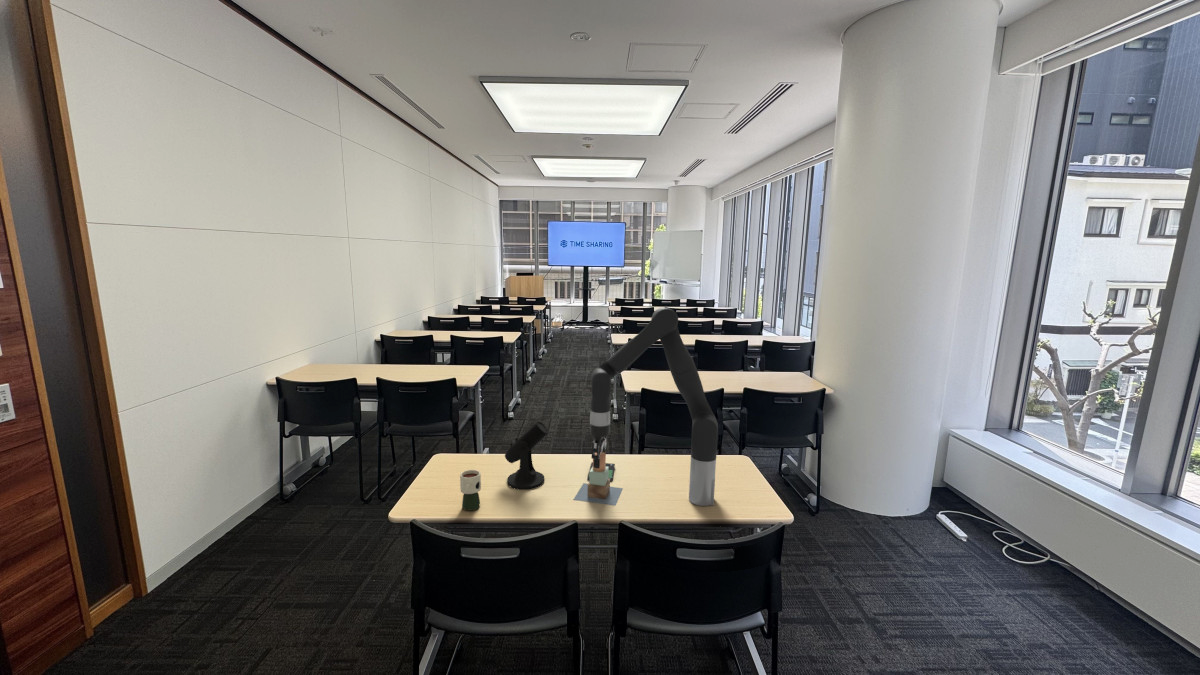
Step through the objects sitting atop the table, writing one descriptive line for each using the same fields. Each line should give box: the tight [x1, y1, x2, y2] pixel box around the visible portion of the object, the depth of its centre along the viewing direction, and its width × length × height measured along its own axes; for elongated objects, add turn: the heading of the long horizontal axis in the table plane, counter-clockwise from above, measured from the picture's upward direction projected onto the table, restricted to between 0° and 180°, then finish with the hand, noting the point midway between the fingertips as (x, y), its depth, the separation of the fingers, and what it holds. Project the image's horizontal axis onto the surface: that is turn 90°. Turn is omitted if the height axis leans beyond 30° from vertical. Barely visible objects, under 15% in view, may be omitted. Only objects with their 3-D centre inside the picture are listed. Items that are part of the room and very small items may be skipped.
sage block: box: [588, 466, 609, 486], centre depth 183 cm, size 6×6×5 cm
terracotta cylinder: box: [592, 452, 607, 472], centre depth 183 cm, size 5×5×6 cm
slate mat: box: [573, 482, 624, 507], centre depth 185 cm, size 16×14×1 cm
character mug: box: [459, 469, 482, 511], centre depth 173 cm, size 11×7×13 cm, turn 4°
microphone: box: [504, 421, 549, 491], centre depth 194 cm, size 15×17×25 cm
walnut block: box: [587, 478, 611, 499], centre depth 184 cm, size 7×7×5 cm
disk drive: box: [586, 461, 616, 483], centre depth 203 cm, size 10×3×15 cm
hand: (599, 463), depth 183 cm, fingers open, 8 cm apart
